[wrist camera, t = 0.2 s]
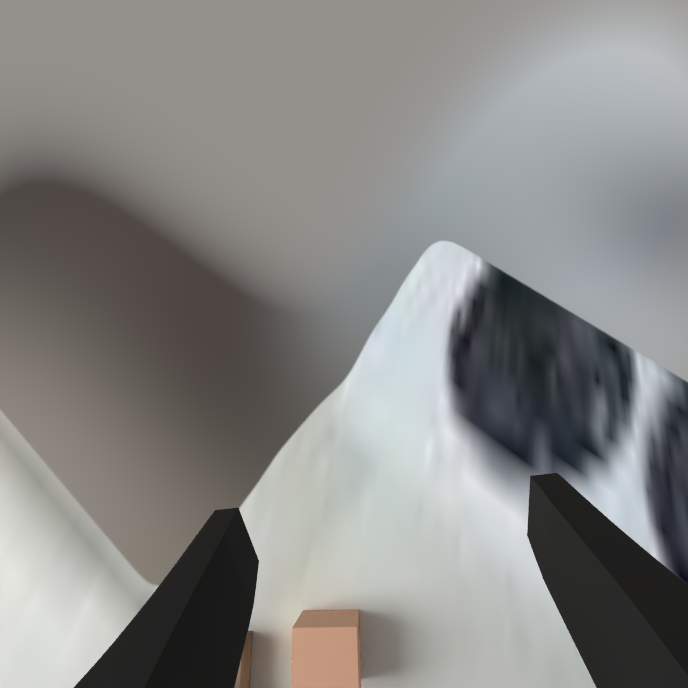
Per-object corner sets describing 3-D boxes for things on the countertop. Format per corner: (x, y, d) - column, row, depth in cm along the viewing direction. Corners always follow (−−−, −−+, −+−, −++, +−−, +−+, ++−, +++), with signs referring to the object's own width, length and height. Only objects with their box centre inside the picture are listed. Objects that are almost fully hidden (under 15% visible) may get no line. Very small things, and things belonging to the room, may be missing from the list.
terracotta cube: (361, 678, 34) (359, 707, 29) (302, 678, 34) (291, 708, 30) (358, 609, 36) (356, 626, 31) (303, 610, 36) (292, 627, 31)
